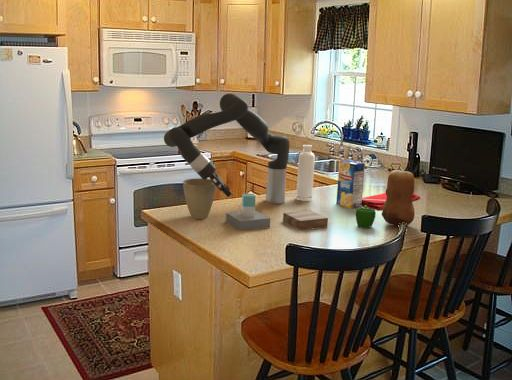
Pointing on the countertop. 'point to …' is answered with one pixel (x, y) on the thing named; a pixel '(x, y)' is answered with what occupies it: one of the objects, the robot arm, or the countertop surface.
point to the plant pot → (199, 196)
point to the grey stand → (247, 221)
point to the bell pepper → (365, 217)
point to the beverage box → (350, 183)
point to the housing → (248, 205)
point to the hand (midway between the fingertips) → (229, 193)
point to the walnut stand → (305, 219)
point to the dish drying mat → (379, 201)
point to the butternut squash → (399, 198)
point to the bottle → (305, 174)
